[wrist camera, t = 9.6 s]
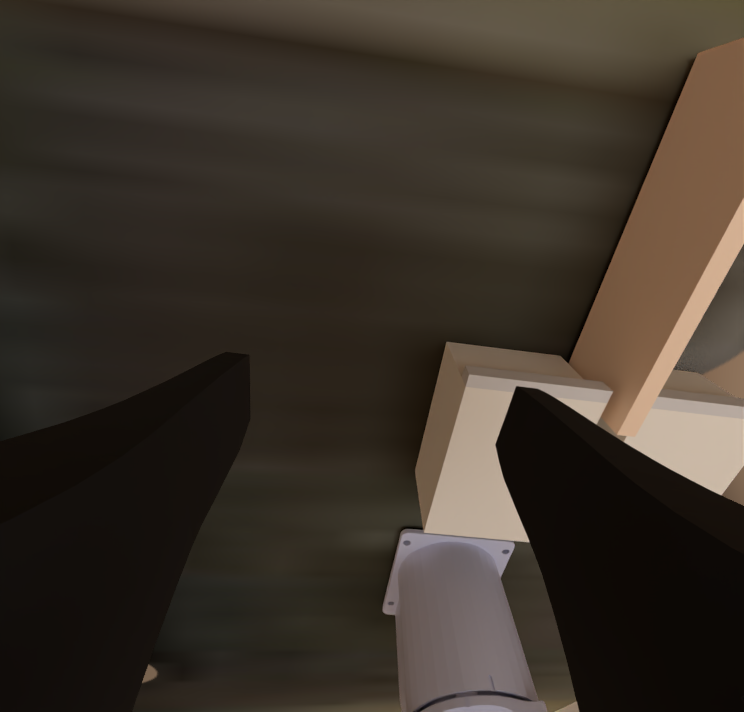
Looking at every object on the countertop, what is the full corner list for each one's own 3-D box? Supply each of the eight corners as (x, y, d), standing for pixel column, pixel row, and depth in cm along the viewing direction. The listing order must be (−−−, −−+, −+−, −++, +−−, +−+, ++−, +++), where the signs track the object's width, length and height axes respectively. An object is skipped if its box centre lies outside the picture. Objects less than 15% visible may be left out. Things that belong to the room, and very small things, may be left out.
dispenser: (626, 492, 25) (675, 555, 21) (414, 470, 24) (423, 532, 20) (703, 363, 20) (784, 411, 16) (449, 331, 20) (469, 374, 16)
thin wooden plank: (577, 377, 20) (634, 436, 16) (563, 375, 20) (616, 435, 16) (718, 56, 14) (876, 7, 10) (697, 53, 14) (847, 1, 10)
